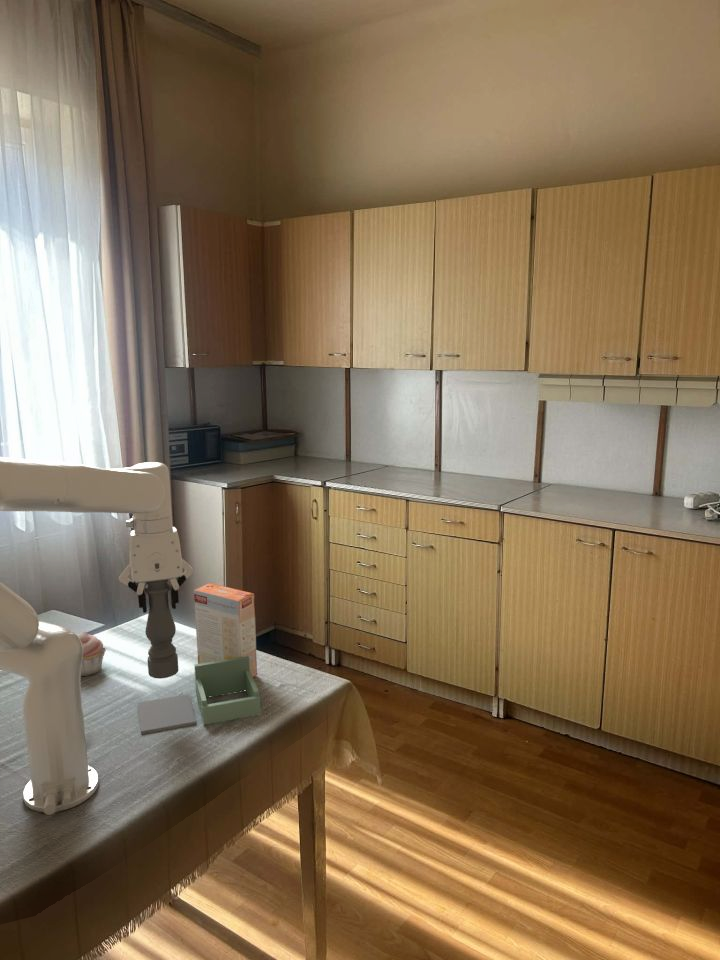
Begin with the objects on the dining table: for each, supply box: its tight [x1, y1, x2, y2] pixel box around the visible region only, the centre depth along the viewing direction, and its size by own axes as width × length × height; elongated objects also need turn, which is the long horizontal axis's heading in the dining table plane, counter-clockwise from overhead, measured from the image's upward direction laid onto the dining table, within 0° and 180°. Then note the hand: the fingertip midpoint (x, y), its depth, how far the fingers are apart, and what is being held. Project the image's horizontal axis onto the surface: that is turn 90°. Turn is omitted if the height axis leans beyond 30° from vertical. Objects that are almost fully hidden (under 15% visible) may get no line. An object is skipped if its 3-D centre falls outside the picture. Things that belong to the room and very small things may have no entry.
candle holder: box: [144, 563, 179, 680], centre depth 152 cm, size 6×6×25 cm
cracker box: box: [193, 582, 258, 678], centre depth 172 cm, size 14×6×21 cm, turn 58°
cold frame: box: [194, 656, 261, 726], centre depth 159 cm, size 12×12×8 cm
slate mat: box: [137, 693, 197, 735], centre depth 156 cm, size 12×11×1 cm
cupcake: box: [77, 631, 107, 677], centre depth 175 cm, size 9×9×10 cm
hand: (159, 607), depth 151 cm, fingers closed on candle holder, 5 cm apart
